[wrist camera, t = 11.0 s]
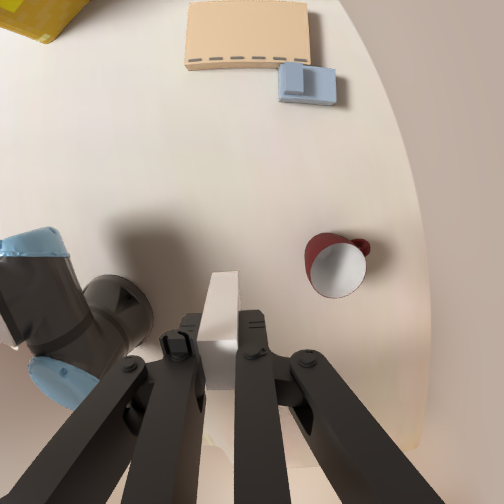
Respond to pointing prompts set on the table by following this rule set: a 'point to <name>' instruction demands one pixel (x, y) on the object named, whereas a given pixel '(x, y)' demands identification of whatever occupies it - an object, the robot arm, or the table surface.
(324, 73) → the stub
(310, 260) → the mug
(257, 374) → the robot arm
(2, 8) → the book
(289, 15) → the board
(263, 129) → the table surface
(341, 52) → the table surface
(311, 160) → the table surface
